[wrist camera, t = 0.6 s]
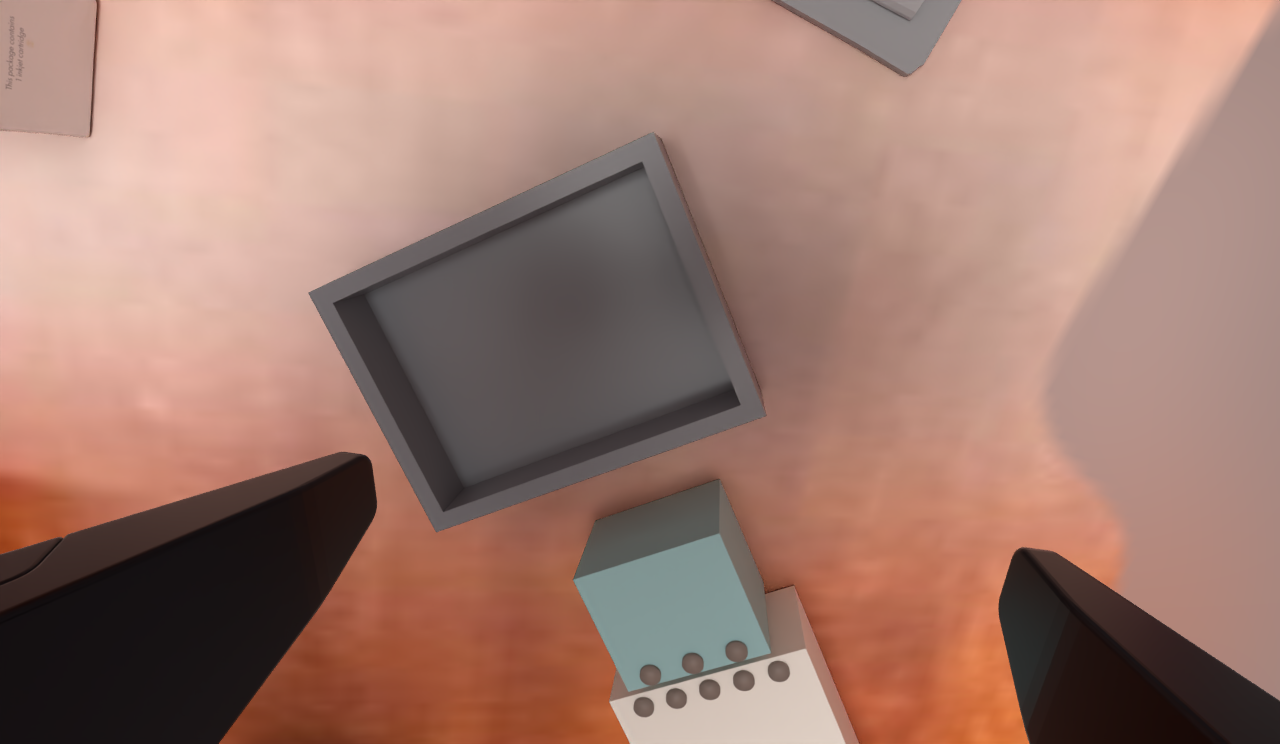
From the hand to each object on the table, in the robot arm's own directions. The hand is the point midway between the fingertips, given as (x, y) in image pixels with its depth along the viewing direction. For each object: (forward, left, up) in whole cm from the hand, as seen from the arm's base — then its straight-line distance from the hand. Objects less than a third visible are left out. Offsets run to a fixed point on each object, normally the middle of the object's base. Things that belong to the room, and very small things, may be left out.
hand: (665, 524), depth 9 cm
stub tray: (-5, +2, -14) cm, 15 cm away
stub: (-4, -8, -14) cm, 16 cm away
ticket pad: (-4, -16, -14) cm, 21 cm away
